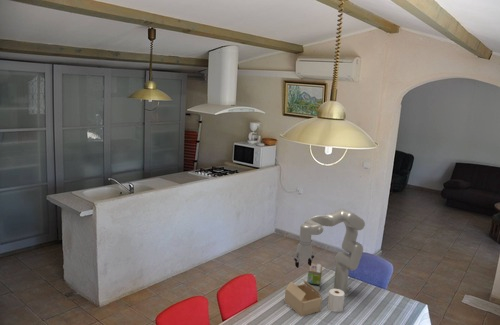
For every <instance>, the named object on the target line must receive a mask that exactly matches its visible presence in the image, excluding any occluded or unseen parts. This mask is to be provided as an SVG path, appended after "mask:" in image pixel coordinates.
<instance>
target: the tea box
mask: <svg viewBox="0 0 500 325" xmlns="http://www.w3.org/2000/svg"><path fill="white" fill-rule="evenodd" d="M307 272H308V273H307V281H306V282H307V283H309V284H310V285H311V286H313V287H314V288H315V289H317V290H318V291H320V289H321V282H322V274H323V273H322V272H323V264H320V263H315V262H312V263H311V266H310V265H308V271H307ZM306 286H307V285H306ZM307 287H308V286H307ZM310 289H311V288H310ZM311 290H312V289H311Z"/></svg>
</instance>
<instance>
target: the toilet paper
mask: <svg viewBox="0 0 500 325" xmlns="http://www.w3.org/2000/svg"><path fill="white" fill-rule="evenodd" d="M333 288H334V287H333ZM344 295H345V293H344V292H343V291H342V290H340V289H335V288H334V289H332V288H331V289H329V290H328V299H327V309H328V310H329V311H331V312H333V313H341V312H342V311H344V310H343V309H344V302H345V297H344Z"/></svg>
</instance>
